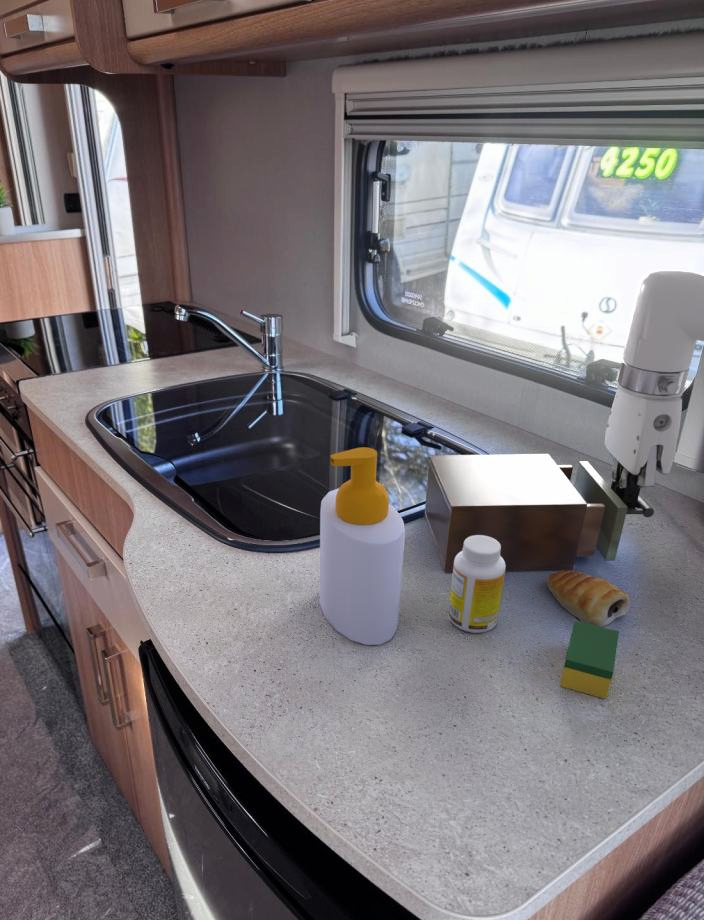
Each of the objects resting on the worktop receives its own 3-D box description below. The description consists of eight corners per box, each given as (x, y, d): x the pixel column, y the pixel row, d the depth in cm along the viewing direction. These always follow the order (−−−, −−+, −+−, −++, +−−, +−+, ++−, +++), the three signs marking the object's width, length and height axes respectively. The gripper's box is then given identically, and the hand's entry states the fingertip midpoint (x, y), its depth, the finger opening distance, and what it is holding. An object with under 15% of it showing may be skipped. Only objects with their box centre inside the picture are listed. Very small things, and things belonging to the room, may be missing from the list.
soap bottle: (305, 587, 88) (305, 433, 78) (367, 575, 91) (374, 424, 81) (345, 655, 77) (351, 486, 67) (414, 638, 80) (430, 473, 70)
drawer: (616, 509, 104) (627, 460, 100) (658, 560, 93) (673, 506, 89) (470, 511, 103) (476, 462, 99) (494, 563, 92) (502, 509, 88)
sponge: (569, 645, 79) (574, 619, 77) (612, 657, 77) (619, 631, 76) (559, 686, 73) (565, 659, 72) (606, 699, 72) (613, 672, 70)
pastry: (532, 593, 87) (537, 567, 86) (568, 576, 91) (573, 550, 89) (597, 634, 81) (604, 606, 79) (633, 613, 84) (641, 586, 82)
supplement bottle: (504, 616, 83) (517, 541, 78) (484, 641, 79) (496, 563, 74) (460, 599, 86) (469, 525, 81) (439, 623, 82) (447, 547, 77)
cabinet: (537, 514, 105) (548, 453, 100) (573, 570, 92) (587, 504, 87) (424, 516, 104) (429, 455, 99) (444, 572, 91) (451, 506, 87)
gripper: (714, 399, 81) (674, 538, 90) (654, 359, 94) (624, 484, 103) (649, 400, 81) (615, 540, 90) (597, 359, 94) (572, 485, 103)
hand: (620, 510), depth 96 cm, fingers closed
